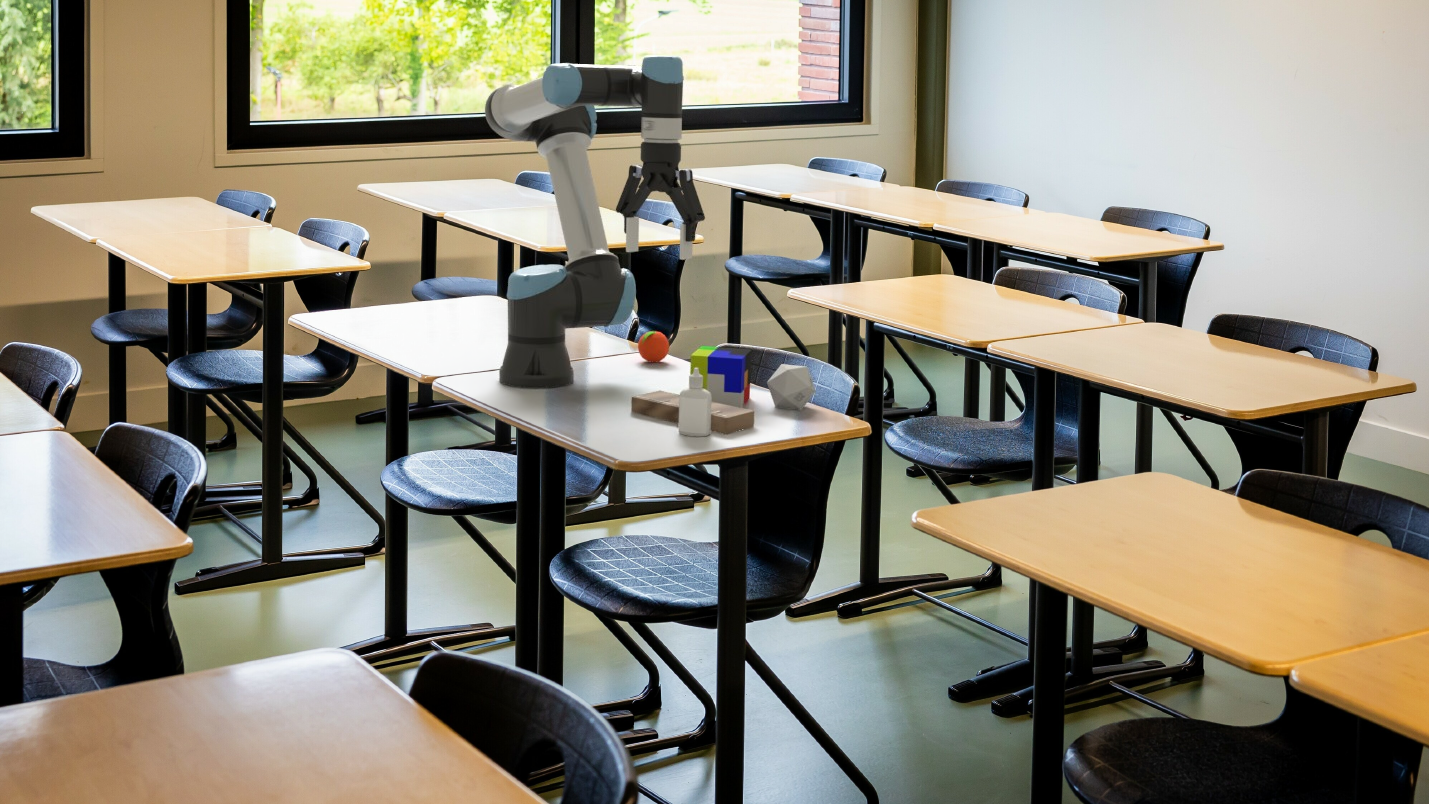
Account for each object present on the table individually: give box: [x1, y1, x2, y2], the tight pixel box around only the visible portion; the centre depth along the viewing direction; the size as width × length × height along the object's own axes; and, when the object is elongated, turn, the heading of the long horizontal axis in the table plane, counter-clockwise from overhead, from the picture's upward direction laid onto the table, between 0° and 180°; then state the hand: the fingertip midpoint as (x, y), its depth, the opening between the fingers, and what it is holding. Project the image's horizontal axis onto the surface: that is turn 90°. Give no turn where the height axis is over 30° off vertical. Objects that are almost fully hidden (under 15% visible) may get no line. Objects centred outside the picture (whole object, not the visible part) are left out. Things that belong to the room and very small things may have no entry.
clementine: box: [637, 330, 670, 363], centre depth 311 cm, size 8×7×7 cm
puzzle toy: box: [689, 345, 752, 408], centre depth 274 cm, size 10×10×10 cm
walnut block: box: [630, 390, 755, 435], centre depth 260 cm, size 23×8×3 cm, turn 51°
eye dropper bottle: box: [678, 368, 712, 438], centre depth 249 cm, size 4×6×12 cm
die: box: [766, 363, 817, 411], centre depth 273 cm, size 8×9×10 cm
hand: (658, 255), depth 266 cm, fingers open, 13 cm apart
